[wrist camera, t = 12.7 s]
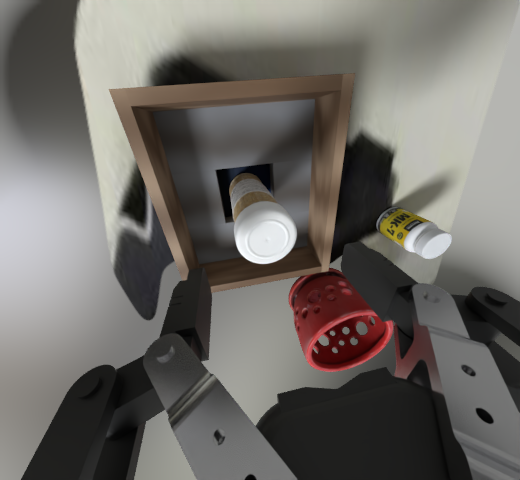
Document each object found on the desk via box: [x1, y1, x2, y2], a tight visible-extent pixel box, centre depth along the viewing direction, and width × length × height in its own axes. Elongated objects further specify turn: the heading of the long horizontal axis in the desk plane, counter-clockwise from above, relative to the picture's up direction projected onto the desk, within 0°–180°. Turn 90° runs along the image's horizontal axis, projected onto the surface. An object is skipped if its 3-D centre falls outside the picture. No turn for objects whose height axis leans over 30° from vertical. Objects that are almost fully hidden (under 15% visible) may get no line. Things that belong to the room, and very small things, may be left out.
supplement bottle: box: [376, 207, 452, 259], centre depth 28 cm, size 5×5×8 cm
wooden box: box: [109, 73, 355, 293], centre depth 22 cm, size 20×18×7 cm
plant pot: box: [289, 268, 393, 372], centre depth 31 cm, size 13×13×12 cm
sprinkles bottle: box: [229, 173, 297, 264], centre depth 19 cm, size 5×5×14 cm
